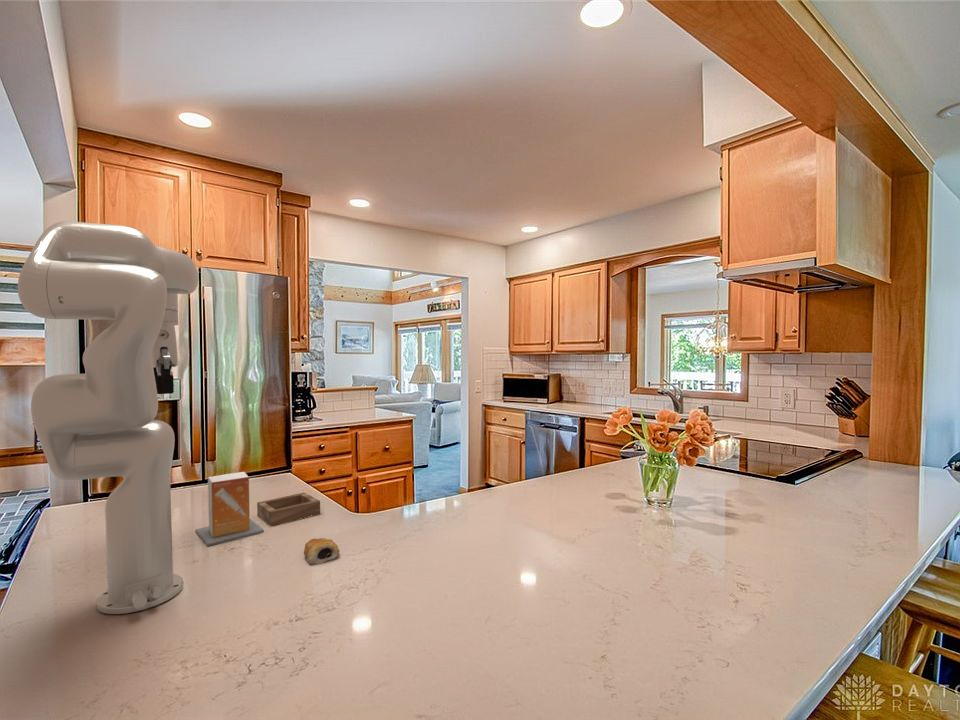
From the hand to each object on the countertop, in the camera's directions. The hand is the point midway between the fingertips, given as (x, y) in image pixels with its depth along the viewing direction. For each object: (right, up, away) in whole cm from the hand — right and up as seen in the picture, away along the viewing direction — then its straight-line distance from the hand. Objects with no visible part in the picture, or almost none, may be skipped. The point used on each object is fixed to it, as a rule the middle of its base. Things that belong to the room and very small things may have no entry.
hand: (161, 392), depth 111 cm
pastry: (+40, -34, -10) cm, 54 cm away
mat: (+13, -34, +4) cm, 37 cm away
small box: (+14, -34, +4) cm, 37 cm away
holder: (+23, -34, +16) cm, 44 cm away
